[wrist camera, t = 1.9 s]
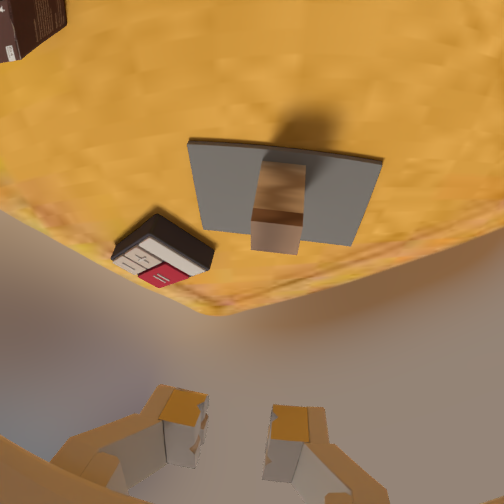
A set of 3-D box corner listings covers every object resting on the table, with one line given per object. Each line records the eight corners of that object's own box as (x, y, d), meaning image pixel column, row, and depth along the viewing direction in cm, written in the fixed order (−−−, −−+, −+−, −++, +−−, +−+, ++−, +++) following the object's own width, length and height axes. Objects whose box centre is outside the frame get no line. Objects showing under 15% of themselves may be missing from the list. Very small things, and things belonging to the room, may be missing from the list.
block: (305, 165, 32) (302, 226, 28) (301, 195, 36) (297, 255, 32) (262, 160, 33) (250, 220, 28) (261, 190, 36) (251, 249, 32)
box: (18, -16, 15) (-36, 13, 11) (64, -28, 16) (8, -4, 12) (25, 33, 20) (-23, 68, 17) (68, 26, 21) (19, 61, 17)
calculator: (108, 263, 51) (147, 237, 41) (116, 241, 54) (157, 211, 44) (159, 291, 57) (209, 274, 47) (166, 270, 60) (216, 249, 50)
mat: (381, 161, 31) (382, 165, 30) (350, 242, 43) (350, 246, 42) (188, 140, 32) (187, 144, 32) (204, 225, 44) (203, 229, 44)
